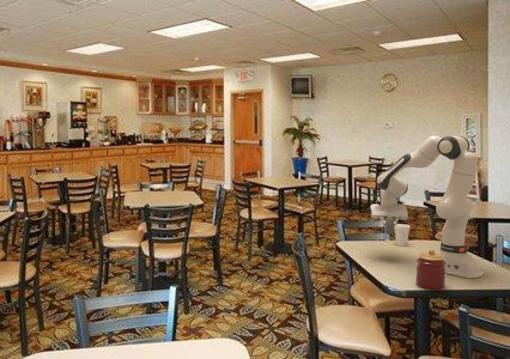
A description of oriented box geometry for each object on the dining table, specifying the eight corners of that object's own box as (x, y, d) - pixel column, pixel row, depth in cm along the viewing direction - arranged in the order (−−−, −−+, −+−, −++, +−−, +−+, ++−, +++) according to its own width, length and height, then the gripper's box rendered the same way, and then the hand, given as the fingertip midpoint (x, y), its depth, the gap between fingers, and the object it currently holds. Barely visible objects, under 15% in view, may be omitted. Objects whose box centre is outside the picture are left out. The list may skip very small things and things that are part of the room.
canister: (409, 282, 213) (411, 247, 211) (430, 279, 217) (432, 245, 216) (429, 291, 201) (430, 254, 199) (450, 288, 205) (452, 251, 204)
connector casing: (393, 234, 244) (394, 214, 243) (385, 234, 245) (386, 214, 244) (392, 231, 251) (393, 212, 249) (384, 231, 251) (385, 212, 250)
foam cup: (390, 244, 287) (391, 225, 285) (399, 242, 292) (400, 223, 291) (403, 247, 279) (404, 227, 278) (411, 245, 285) (412, 225, 283)
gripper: (370, 201, 255) (371, 220, 246) (407, 202, 251) (409, 222, 242) (370, 207, 260) (370, 226, 251) (405, 208, 255) (407, 228, 247)
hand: (389, 224), depth 247 cm, fingers closed on connector casing, 4 cm apart
